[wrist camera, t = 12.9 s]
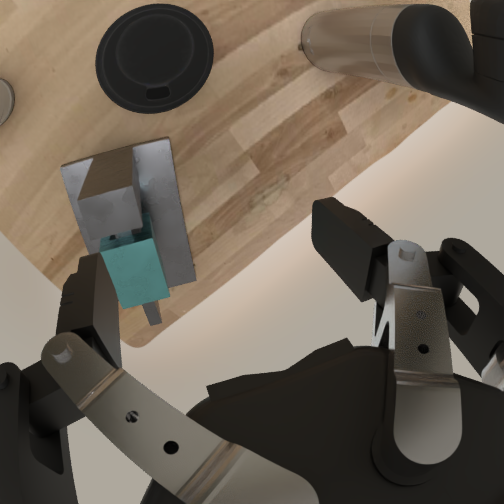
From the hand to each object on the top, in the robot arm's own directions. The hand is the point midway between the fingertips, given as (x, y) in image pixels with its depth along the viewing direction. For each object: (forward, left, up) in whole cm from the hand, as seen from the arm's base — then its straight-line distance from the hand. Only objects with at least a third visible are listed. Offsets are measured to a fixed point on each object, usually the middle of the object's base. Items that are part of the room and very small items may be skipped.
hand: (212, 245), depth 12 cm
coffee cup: (0, -7, -30) cm, 31 cm away
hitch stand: (+6, +14, -30) cm, 34 cm away
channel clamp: (+6, +14, -25) cm, 29 cm away
